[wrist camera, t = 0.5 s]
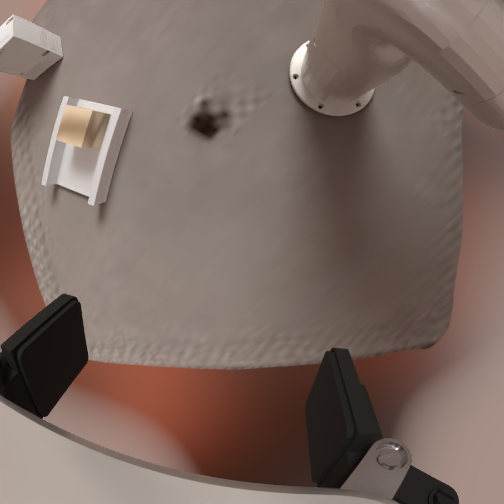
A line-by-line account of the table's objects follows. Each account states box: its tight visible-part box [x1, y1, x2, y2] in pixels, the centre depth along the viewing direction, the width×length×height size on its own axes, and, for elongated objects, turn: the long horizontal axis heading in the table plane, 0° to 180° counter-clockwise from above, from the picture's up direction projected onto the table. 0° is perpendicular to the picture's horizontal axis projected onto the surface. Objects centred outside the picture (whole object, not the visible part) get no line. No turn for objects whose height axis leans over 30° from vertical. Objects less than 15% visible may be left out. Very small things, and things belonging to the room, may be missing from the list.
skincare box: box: [0, 15, 63, 80], centre depth 28 cm, size 8×6×15 cm
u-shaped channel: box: [42, 96, 132, 206], centre depth 39 cm, size 15×12×4 cm
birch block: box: [56, 105, 111, 148], centre depth 37 cm, size 6×6×6 cm
